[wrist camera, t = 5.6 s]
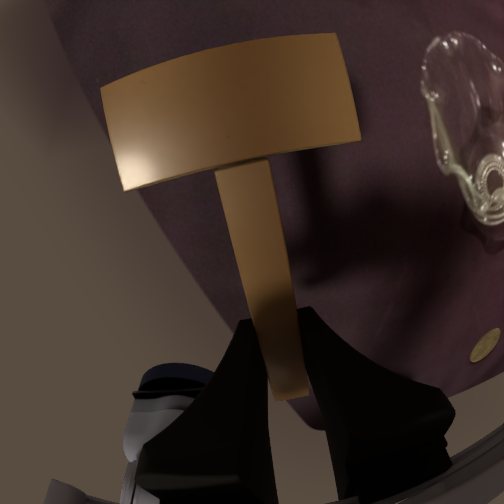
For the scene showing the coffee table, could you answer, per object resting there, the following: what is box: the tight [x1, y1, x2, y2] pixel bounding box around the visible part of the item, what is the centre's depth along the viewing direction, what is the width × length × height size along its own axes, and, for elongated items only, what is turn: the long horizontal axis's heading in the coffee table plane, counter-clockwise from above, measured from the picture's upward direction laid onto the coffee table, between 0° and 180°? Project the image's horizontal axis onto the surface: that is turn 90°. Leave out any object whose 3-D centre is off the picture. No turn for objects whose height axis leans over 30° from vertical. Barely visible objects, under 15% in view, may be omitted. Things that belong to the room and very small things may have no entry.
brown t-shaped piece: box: [100, 33, 361, 401], centre depth 10 cm, size 8×14×3 cm, turn 12°
